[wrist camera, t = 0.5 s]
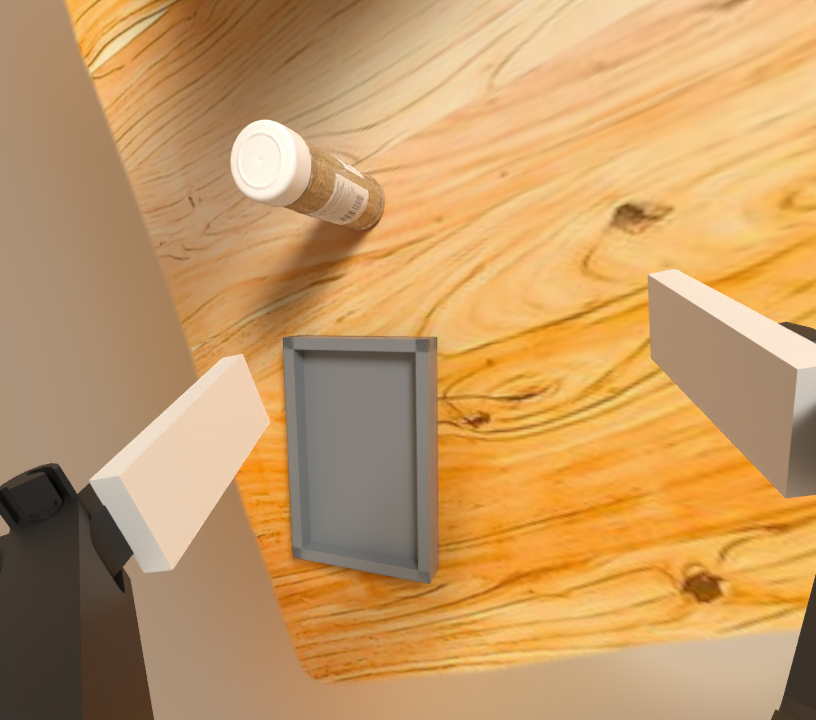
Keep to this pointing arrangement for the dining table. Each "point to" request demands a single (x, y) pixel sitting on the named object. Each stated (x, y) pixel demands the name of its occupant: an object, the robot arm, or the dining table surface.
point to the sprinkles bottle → (302, 177)
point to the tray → (364, 452)
